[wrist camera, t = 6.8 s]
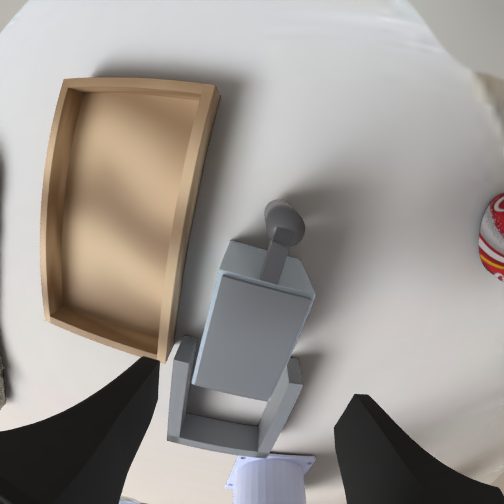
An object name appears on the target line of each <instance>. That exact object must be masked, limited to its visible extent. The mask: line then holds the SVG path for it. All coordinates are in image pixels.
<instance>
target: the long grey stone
mask: <svg viewBox="0 0 504 504" xmlns="http://www.w3.org/2000/svg"><path fill="white" fill-rule="evenodd" d="M1 359H2V356H1V355H0V410H1V408H2V407H3V406H4V405H5V404H6V399H5V393H4V384H5V383H4V379H3V374H2V373H3V369H5V367H4V365H3V363H2V361H1Z"/></svg>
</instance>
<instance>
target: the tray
mask: <svg viewBox="0 0 504 504" xmlns="http://www.w3.org/2000/svg"><path fill="white" fill-rule="evenodd" d="M220 97H221V96H220V94H219V92H218V90H217V88H216V86H215V85H210V84H203V83H195V82H187V81H177V80H166V79H152V78H128V77H95V78H73V79H64V80H63V84H62V87H61V91H60V94H59V98H58V102H57V106H56V110H55V114H54V119H53V123H52V128H51V133H50V138H49V144H48V150H47V156H46V163H45V171H44V179H43V189H42V202H41V219H40V267H41V285H42V297H43V307H44V316H45V321H47V322H49V323H52V324H54V325H56V326H58V327H61V328H63V329H65V330H68V331H70V332H73V333H75V334H78V335H80V336H83V337H85V338H88V339H90V340H93V341H96V342H98V343H101V344H104V345H107V346H109V347H112V348H115V349H118V350H121V351H124V352H127V353H130V354H133V355H136V356H140V357H143V356H146V357H149V358H152V359H156V360H159V361H160V363H163V364H165V363H166V361H167V359H168V357H169V354H170V352H171V350H172V348H173V346H174V339H175V330H176V322H177V315H178V307H179V300H180V293H181V286H182V280H183V273H184V267H185V261H186V255H187V249H188V243H189V237H190V232H191V226H192V221H193V216H194V210H195V205H196V200H197V195H198V190H199V186H200V181H201V176H202V171H203V167H204V162H205V158H206V153H207V149H208V145H209V141H210V136H211V132H212V128H213V124H214V120H215V116H216V112H217V108H218V104H219V101H220Z"/></svg>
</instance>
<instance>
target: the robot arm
mask: <svg viewBox="0 0 504 504" xmlns="http://www.w3.org/2000/svg"><path fill="white" fill-rule="evenodd" d="M159 369H160V361H159V360H156V359H152V358H149V357H146V356H143V357H141V358H140V359H138V360H137V361H136V362H135V363H134V364H133V365H132V366H130V367H129V368H128V369H127V370H126V371H124V372H123V373H122V374H121V375H119V376H118V377H117V378H116V379H114V380H113V381H112V382H110V383H109V384H108V385H106V386H105V387H103V388H102V389H101V390H99V391H98V392H96V393H95V394H93V395H91V396H90V397H88V398H87V399H85V400H84V401H82V402H80V403H78V404H77V405H75V406H73V407H71V408H69V409H67V410H65V411H63V412H61V413H59V414H57V415H54V416H52V417H49V418H47V419H45V420H42V421H39V422H36V423H33V424H30V425H26V426H23V427H19V428H15V429H11V430H7V431H1V432H0V504H119V500H120V496H121V493H122V489H123V486H124V483H125V479H126V476H127V473H128V471H129V468H130V466H131V464H132V461H133V459H134V457H135V455H136V453H137V450H138V448H139V446H140V444H141V442H142V440H143V437H144V435H145V433H146V431H147V429H148V426H149V424H150V422H151V419H152V416H153V413H154V410H155V407H156V403H157V400H158V385H159ZM334 436H335V448H336V454H337V458H338V463H339V467H340V471H341V476H342V480H343V485H344V489H345V494H346V500H347V504H504V496H503V494H502V492H501V490H500V489H499V488H498V487H494V486H490V485H488V484H484V483H481V482H478V481H476V480H473V479H471V478H469V477H466V476H464V475H462V474H460V473H458V472H456V471H455V470H453V469H451V468H449V467H448V466H446V465H444V464H443V463H441V462H440V461H438V460H437V459H436V458H434V457H433V456H432V455H430V454H429V453H428V452H426V451H425V450H424V449H423V448H421V447H420V446H419V445H418V444H417V443H416V442H415V441H414V440H412V439H411V438H410V437H409V436H408V435H407V434H406V433H405V432H404V431H403V430H402V429H401V428H400V427H399V426H398V425H397V424H396V423H395V422H394V421H393V420H392V419H391V418H390V417H389V415H388V414H387V413H386V412H385V411H384V410H383V409H382V408H381V407H380V406H379V405H378V404H377V403H376V402H375V401H374V400H373V399H372V398H371V397H370V396H369V395H364V394H354V396H353V398H352V399H351V401H350V403H349V404H348V406H347V408H346V409H345V411H344V412H343V414H342V416H341V417H340V419H339V420H338V422H337V424H336V425H335V427H334ZM315 461H316V458H315V457H314V456H297V455H282V454H271V453H269V455H268V457H267V459H263V458H254V457H247V456H239V455H238V457H237V459H236V462H235V464H234V467H233V469H232V471H231V474H230V476H229V478H228V480H227V483H226V485H225V488H227V489H231V490H233V502H232V504H306V495H305V486H304V478H303V476H304V475H305V474H306V473H307V471H308V470H309V469H310V468H311V466H312V465H313V464H314V462H315Z"/></svg>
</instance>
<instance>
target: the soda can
mask: <svg viewBox="0 0 504 504" xmlns="http://www.w3.org/2000/svg"><path fill="white" fill-rule="evenodd" d="M479 253H480V258H481V261H482V263H483V265H484V267H485V268H486V269H487V270H488V271H489V272H490V273H492V274H493V275H494V276H496V277H497V278H498V279H500V280H501V281H502V282H504V193H503V194H500V195H498V196H496V197H495V198H494V199H493V200H492V201H491V202H490V204H489V206H488V207H487V209H486V211H485V213H484V216H483V219H482V223H481V226H480V232H479Z"/></svg>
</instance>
